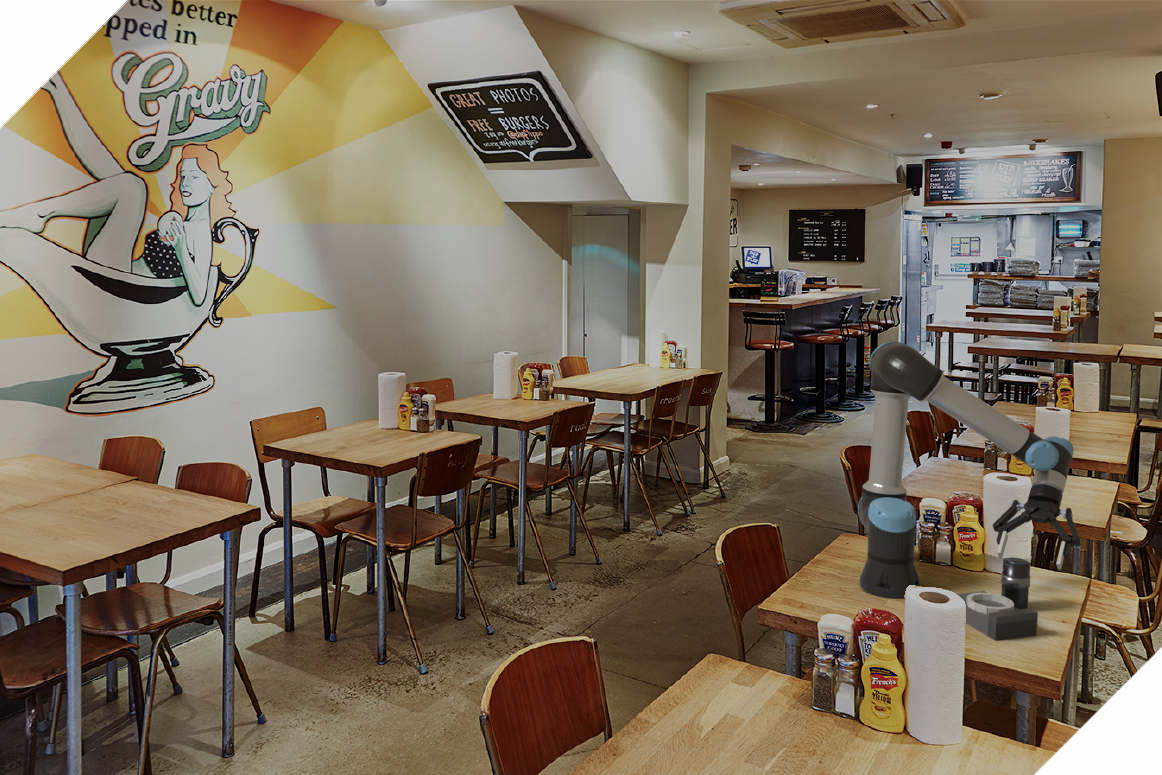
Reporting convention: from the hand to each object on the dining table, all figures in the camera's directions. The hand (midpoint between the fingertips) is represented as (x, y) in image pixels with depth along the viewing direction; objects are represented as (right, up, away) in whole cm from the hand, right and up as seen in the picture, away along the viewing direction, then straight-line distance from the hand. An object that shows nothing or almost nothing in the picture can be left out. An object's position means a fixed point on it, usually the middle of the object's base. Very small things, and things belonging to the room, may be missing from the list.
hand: (1028, 561), depth 215 cm
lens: (-5, -11, -2) cm, 13 cm away
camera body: (-15, -13, -11) cm, 23 cm away
